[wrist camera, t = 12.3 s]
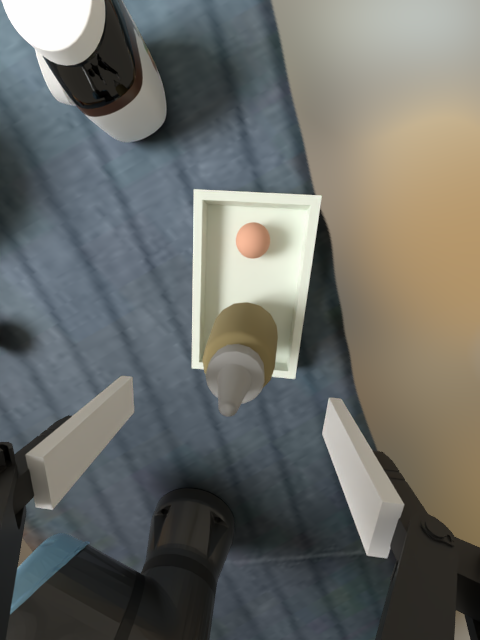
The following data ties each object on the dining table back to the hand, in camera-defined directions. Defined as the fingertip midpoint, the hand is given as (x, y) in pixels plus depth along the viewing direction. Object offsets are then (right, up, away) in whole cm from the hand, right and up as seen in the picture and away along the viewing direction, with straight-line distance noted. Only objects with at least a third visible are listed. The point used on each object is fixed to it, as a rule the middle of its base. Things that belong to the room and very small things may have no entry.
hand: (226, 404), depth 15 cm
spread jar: (-13, +32, +12) cm, 36 cm away
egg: (+3, +15, +13) cm, 21 cm away
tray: (+2, +10, +16) cm, 19 cm away
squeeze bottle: (+2, +5, +17) cm, 17 cm away
